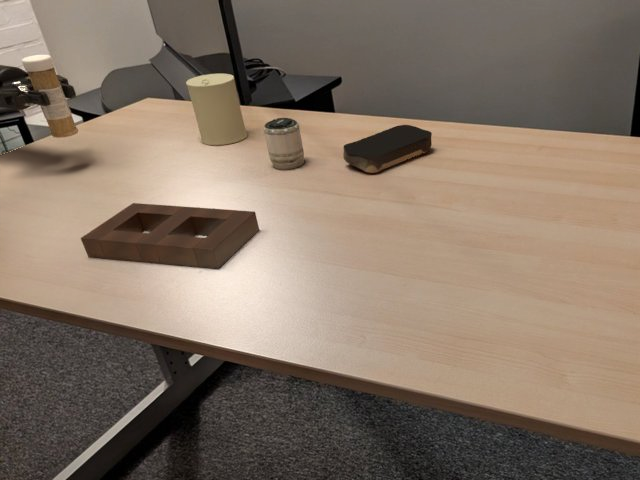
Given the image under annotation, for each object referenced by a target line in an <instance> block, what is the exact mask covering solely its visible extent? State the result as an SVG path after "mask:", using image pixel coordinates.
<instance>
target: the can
mask: <svg viewBox="0 0 640 480" xmlns="http://www.w3.org/2000/svg"><path fill="white" fill-rule="evenodd" d="M185 84H186V87H187V91H188V94H189V97H190V101H191V104H192V105H191V106H192V108H193V112H194V115H195V119H196V123H197V127H198V130H199V135H200V141H201V144H204V145H206V146H207V145H208V146H226V145H227V146H228V145H231V144H236V143H238V142H241V141H243V140H245V139H246V138H247V137H248V132H247V129H246V126H245V122H244V121H245V120H244V118H243V114H242V108H241V105H240V100H239V94H238V92H237V91H238V90H237V86H236V80H235V76H234V75H232V74H230V73H208V74H202V75H197V76H194V77H191V78H189V79H188V80H186V82H185Z"/></svg>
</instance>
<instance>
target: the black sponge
mask: <svg viewBox="0 0 640 480" xmlns="http://www.w3.org/2000/svg"><path fill="white" fill-rule="evenodd" d="M432 135H433V132H431V131H430V130H427V129H423V128H421V127H418V126H414V125H410V124H400V125H396V126H393V127H390V128H387V129H385V130H382V131H380V132H377V133H375V134H372V135H369V136H367V137H363V138H361V139H358V140H356V141H352V142H348V143H346V144H344V145H343V160H344V161H345V162H346V163H347V164H349V165H350V166H353V167H355V168H357V169H360V170H361V171H364V172H365V173H369V174H377V173H379V172H381V171H383V170H387V169H388V168H390V167H392V166H393V167H394V166H395V165H398V164H400V163H402V162H405V161H408V160H410V159H412V157H413V158H416V157H418V156H420V155H423V154H427V153H428V152H430V150H431V149H432ZM422 153H423V154H422ZM417 155H418V156H417ZM415 156H416V157H415ZM407 159H408V160H407Z"/></svg>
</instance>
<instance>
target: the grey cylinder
mask: <svg viewBox="0 0 640 480" xmlns="http://www.w3.org/2000/svg"><path fill="white" fill-rule="evenodd" d="M300 129H301V128H300V124H299V122H298V121H297V120H295V119H292V118H289V117H278V118H274V119H272V120H269V121H267V122H266V123H265V124H264V125H263V129H262V130H263V134H264V139H265V143H266V148H267V152H268V158H269V160H270V162H271V164H272V166H273V167H272V168H274V169H276V170H293V169H296V168H299V167H301V166H302V165H304V164H305V163H304V162H305V161H304V158H305V151H304V146H303V141H302V133H301V130H300Z"/></svg>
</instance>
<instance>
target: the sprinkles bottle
mask: <svg viewBox="0 0 640 480" xmlns="http://www.w3.org/2000/svg"><path fill="white" fill-rule="evenodd" d="M21 63H22V66H23V68H24V71H25V72H27V73H28V75H29V78H30V80H31V83H32V85H33V88H34V90H35V91H40V92H45V93H46V94H47V95H48V98H49V101H50V103H51V105H49V106H41V105H39V107H40V109H41V112H42V114H43V116H44V119H45V120H46V123H47V125H48V128H49V130H50V134H51V136H52V137H53V138H56V139H60V138H69V137H72V136H75V135H77V134H78V133H79V129H78V128H77V125H76V123H75V121H74V118H73V114H72V110H71V108H70V105H69V103H68V100H67V98H66V97H65V95H64V92H63V89H62V87H61V85H60V82H59V80H58V77H57V75H58V74H57V72H56V69H55V63H54V61H53V58H52V56H51V55H49V54H35V55H29V56H25V57H23V58H22V59H21Z"/></svg>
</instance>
